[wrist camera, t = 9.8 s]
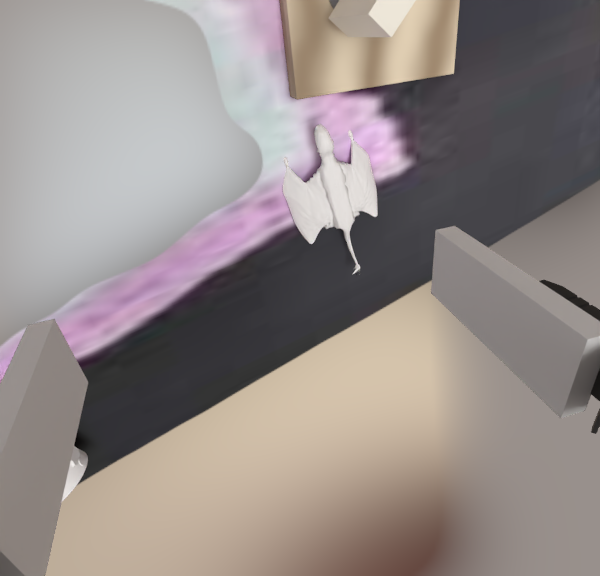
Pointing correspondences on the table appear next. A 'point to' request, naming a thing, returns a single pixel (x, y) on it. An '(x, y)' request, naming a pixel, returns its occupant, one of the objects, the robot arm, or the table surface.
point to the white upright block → (369, 16)
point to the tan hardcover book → (365, 48)
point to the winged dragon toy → (331, 191)
